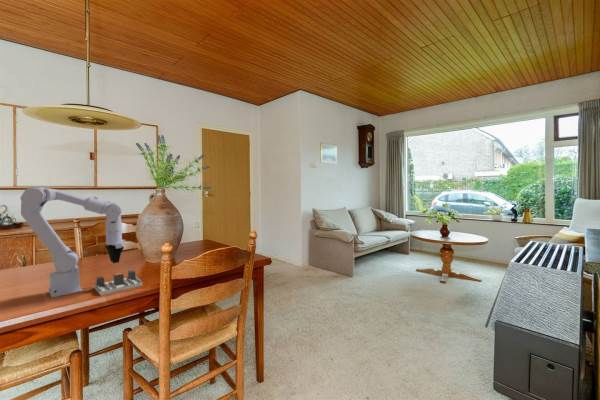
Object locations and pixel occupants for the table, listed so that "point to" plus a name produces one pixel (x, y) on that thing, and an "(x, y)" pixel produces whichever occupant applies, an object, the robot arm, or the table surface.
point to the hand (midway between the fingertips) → (114, 261)
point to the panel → (111, 287)
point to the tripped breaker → (118, 278)
